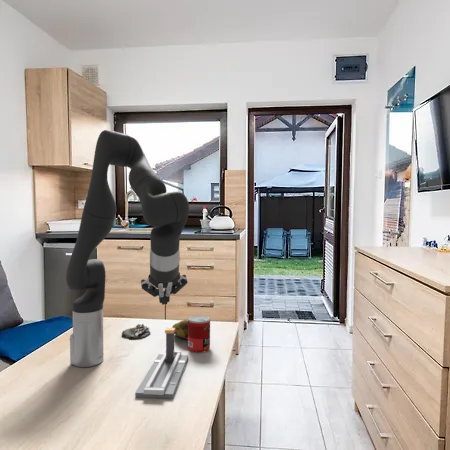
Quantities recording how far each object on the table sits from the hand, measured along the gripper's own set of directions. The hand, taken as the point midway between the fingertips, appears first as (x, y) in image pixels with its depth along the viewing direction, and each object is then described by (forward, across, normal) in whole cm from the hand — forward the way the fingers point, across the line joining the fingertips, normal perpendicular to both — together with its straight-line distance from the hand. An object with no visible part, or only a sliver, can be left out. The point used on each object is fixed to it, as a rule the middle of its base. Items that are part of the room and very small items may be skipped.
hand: (164, 302), depth 101 cm
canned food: (+32, -13, -2) cm, 34 cm away
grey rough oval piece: (+44, +8, -18) cm, 48 cm away
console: (+20, +1, +12) cm, 23 cm away
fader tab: (+23, -1, +5) cm, 24 cm away
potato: (+38, -9, -10) cm, 41 cm away
